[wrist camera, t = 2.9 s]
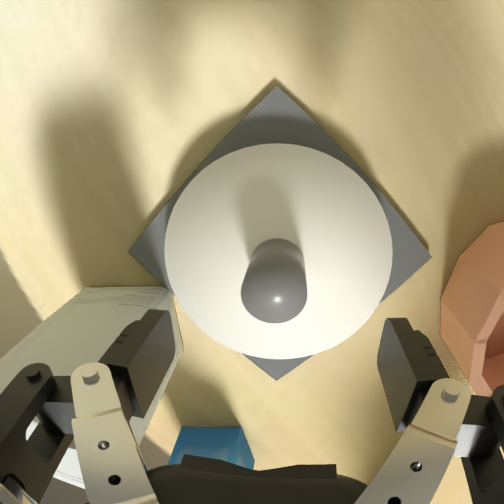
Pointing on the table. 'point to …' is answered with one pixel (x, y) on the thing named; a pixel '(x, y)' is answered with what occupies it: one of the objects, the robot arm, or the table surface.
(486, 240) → the bowl
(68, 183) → the table surface
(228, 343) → the lid
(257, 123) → the mat
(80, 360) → the skincare box
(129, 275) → the table surface
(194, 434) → the perfume bottle
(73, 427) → the robot arm
